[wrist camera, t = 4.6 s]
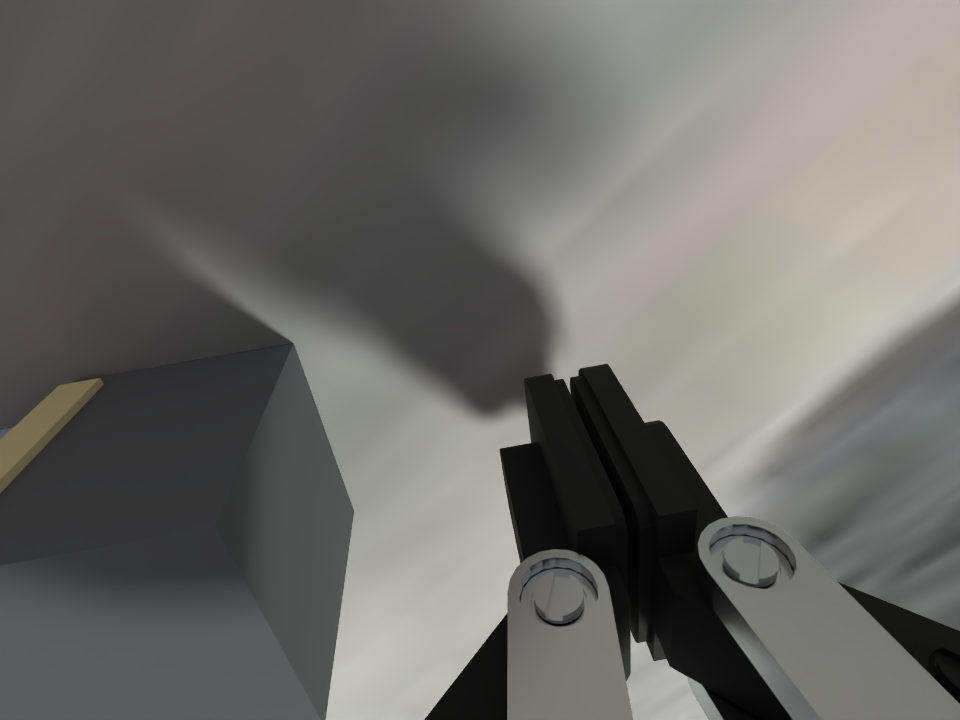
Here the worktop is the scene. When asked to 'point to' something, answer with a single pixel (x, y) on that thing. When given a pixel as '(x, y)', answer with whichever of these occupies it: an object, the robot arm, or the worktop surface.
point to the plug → (172, 546)
